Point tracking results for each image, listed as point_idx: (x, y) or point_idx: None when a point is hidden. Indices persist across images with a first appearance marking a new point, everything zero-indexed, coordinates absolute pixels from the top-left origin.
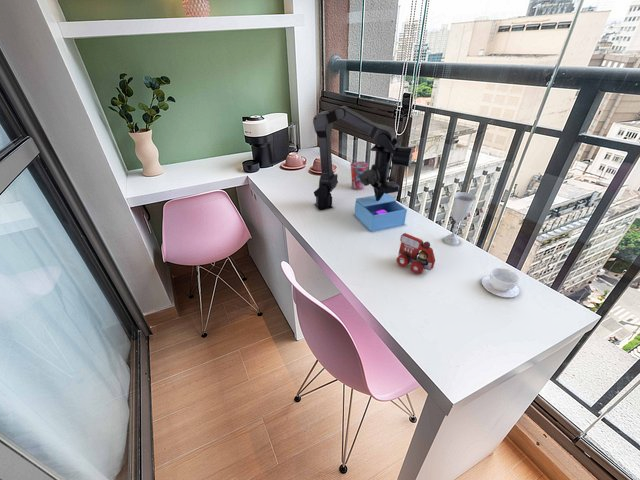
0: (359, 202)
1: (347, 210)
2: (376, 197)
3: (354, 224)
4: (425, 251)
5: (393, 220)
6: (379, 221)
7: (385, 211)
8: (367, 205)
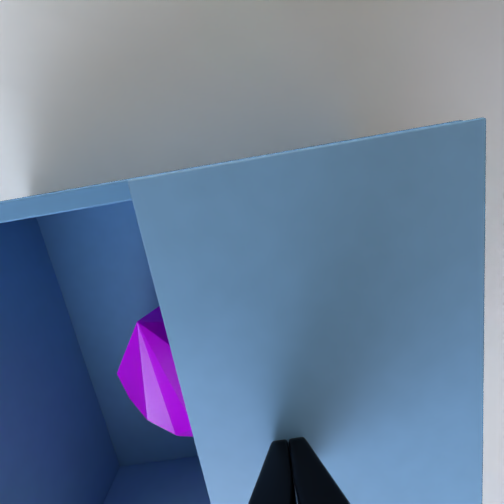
0: (313, 147)
1: (481, 98)
2: (281, 486)
3: (176, 85)
4: None
5: (54, 431)
6: None
7: (178, 428)
8: (145, 249)
